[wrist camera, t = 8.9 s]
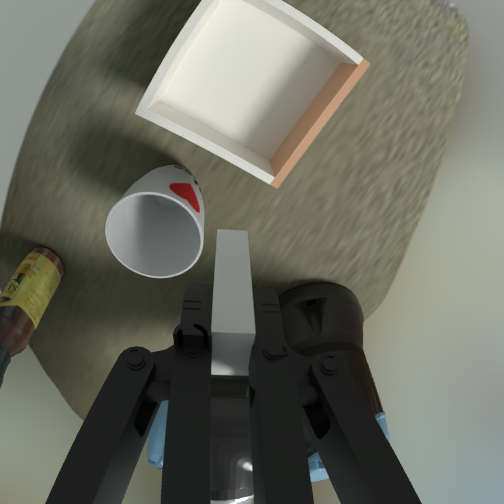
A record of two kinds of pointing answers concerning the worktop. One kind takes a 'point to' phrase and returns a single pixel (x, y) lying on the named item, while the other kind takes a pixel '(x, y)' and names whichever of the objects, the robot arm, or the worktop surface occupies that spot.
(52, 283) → the sauce bottle
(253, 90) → the white open box
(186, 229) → the cup
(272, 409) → the robot arm
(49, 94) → the worktop surface
